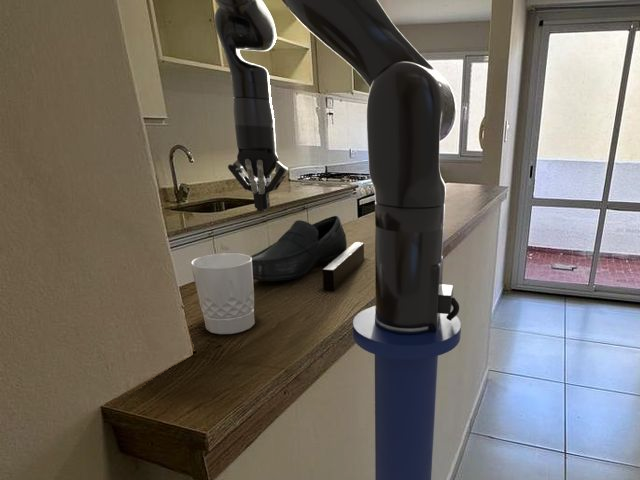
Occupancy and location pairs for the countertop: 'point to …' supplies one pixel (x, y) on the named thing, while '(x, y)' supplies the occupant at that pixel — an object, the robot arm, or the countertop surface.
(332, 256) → the loafer
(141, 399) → the countertop surface
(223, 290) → the white cup
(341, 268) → the shoe rail
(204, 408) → the countertop surface
